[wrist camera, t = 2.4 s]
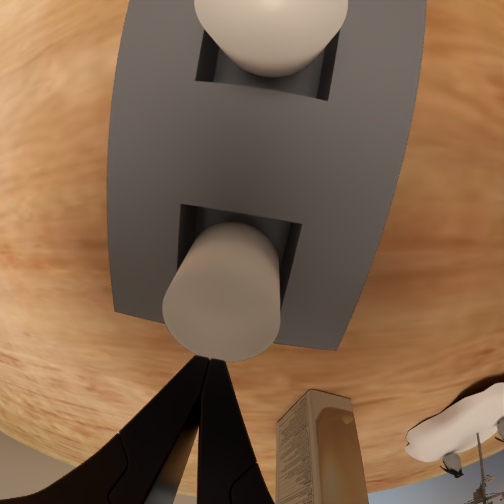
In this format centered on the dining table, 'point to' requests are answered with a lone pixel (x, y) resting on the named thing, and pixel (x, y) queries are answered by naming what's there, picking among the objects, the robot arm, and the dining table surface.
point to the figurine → (461, 433)
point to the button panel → (259, 157)
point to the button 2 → (226, 294)
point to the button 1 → (271, 31)
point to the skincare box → (319, 453)
